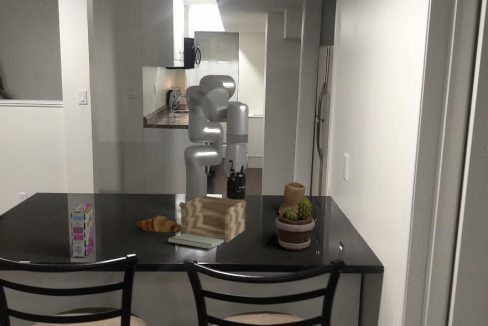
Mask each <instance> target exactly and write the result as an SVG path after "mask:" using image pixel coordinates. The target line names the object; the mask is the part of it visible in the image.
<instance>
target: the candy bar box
mask: <svg viewBox="0 0 488 326" xmlns="http://www.w3.org/2000/svg"><path fill="white" fill-rule="evenodd" d="M93 213H94V211H93V203H78V204H77V205H76V206H75V208H74V209H72V210H71V211H70V222H71V223H70V224H71V225H70V226H71V254H72V255H71V256H72V258H74V257H84V258H87V257H88V255H89V254H88V253H90V252H91V251H92V249H93V248H94V225H93V223H94V222H93V221H94V219H93V218H94V217H93V216H94V215H93ZM92 247H93V248H92ZM90 250H91V251H90Z"/></svg>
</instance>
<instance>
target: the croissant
mask: <svg viewBox="0 0 488 326" xmlns="http://www.w3.org/2000/svg"><path fill="white" fill-rule="evenodd" d="M136 222H137V221H136ZM137 227H138V228H140V229H141V230H143V232H146V233H149V232H153V233H181V223H180V224H179V223H177V221H175V219H168V217H166V216H164V215H163V216H162V215H158V214H157V215H155V216H153V217H150V218H148V219H144V220H141V221H138V222H137Z"/></svg>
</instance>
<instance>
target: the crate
mask: <svg viewBox="0 0 488 326" xmlns="http://www.w3.org/2000/svg"><path fill="white" fill-rule="evenodd" d="M246 202H247V201H246V200H244V199H242V200H232V199H228V198H227V197H226V198H225V197H219V196H218V197H217V196H209V195H207V196H203V195H201V196H199V197H197V198H195V199H193V200H190V201H188V202H186V201H185V202H184V204H182V205H181V207H180V225H181V232H180V235H182V234H190V235H196V236H202V237H209V238H215V239H221V240H224V242H225V243H229V242H230V241H232V240H233V239H235V238H236V237H237V236H239V235H240V234H242V233H243V232H244V231H245V230H246V219H247V218H246V209H247V208H246V207H247V203H246Z"/></svg>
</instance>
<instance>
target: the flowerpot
mask: <svg viewBox="0 0 488 326" xmlns="http://www.w3.org/2000/svg"><path fill="white" fill-rule="evenodd" d="M302 197H303V196H302ZM297 205H298V208H297V209H298V210H297V211H299V212H295V211H294V209H292V208H291V209H289V208H288V209H286V211H285V213H281V214H279V215H278V216H277V217H276V219H275V220H274V221H275V224H274V225H275V227H276V228H277V232H278V238H277V239H278V241H277V242H278V243H279V245H280V248H283V249H285V250H286V251H291V252H292V251H293V252H301V251H304V250H306V249H307V248H308V247H309V246H310V244H311V238H310V236H311V233H312V230H313V229H315V225H316V224H315V219H314V218H313V217H312V213H311V212H312V211H313V207H312V206H313V203H312V201H311V200H310V199H309V198H308V197H307V196H304V197H303V199H301V201H300V200H299V203H298V204H297ZM295 209H296V208H295Z"/></svg>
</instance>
